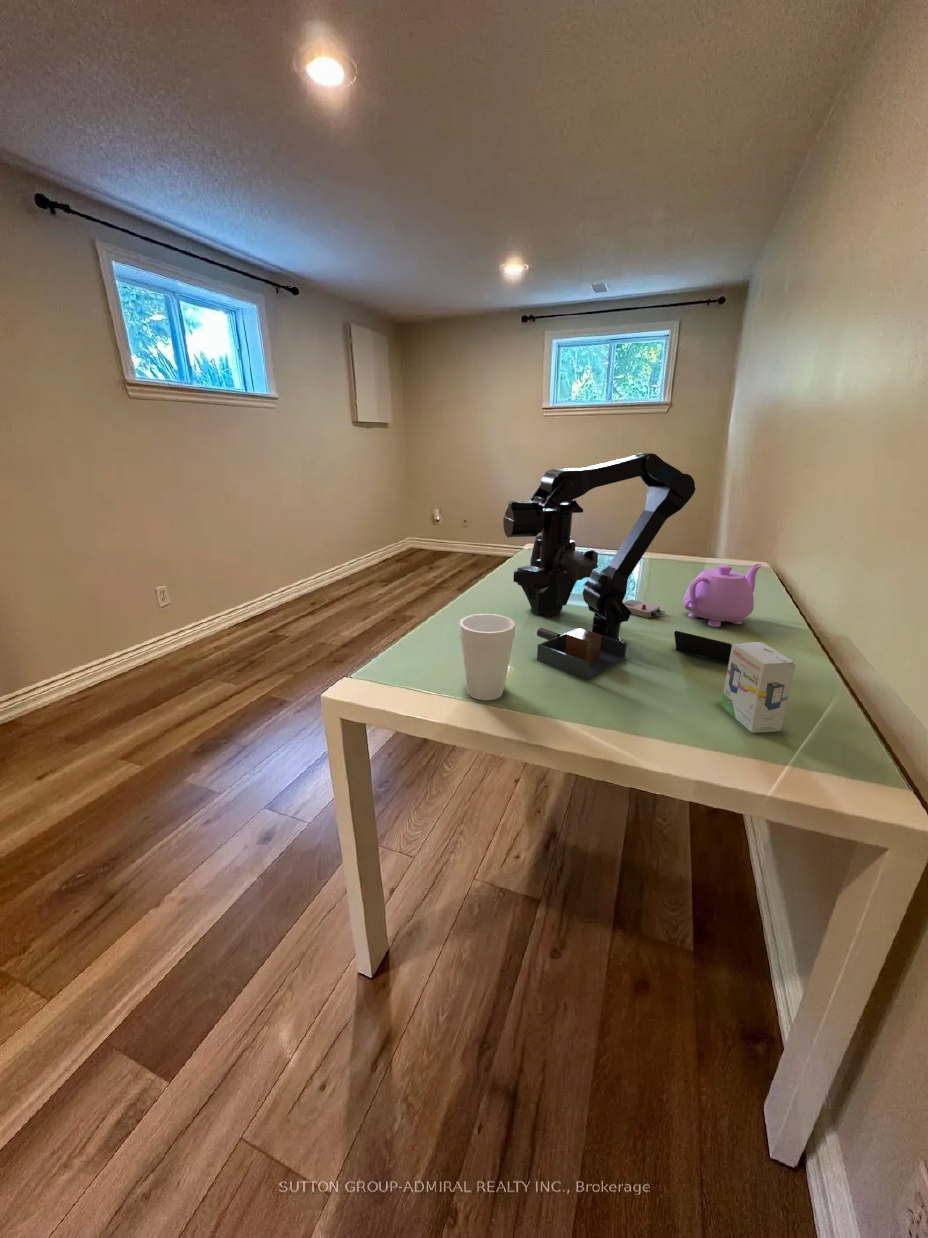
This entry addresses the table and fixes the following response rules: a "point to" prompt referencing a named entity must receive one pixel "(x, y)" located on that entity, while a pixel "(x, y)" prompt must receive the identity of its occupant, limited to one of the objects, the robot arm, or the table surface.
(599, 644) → the block
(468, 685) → the foam cup
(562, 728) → the table surface
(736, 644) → the ink box
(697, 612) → the teapot
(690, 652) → the handheld gaming console
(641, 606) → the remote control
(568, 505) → the robot arm
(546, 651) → the tray
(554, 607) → the portable speaker
